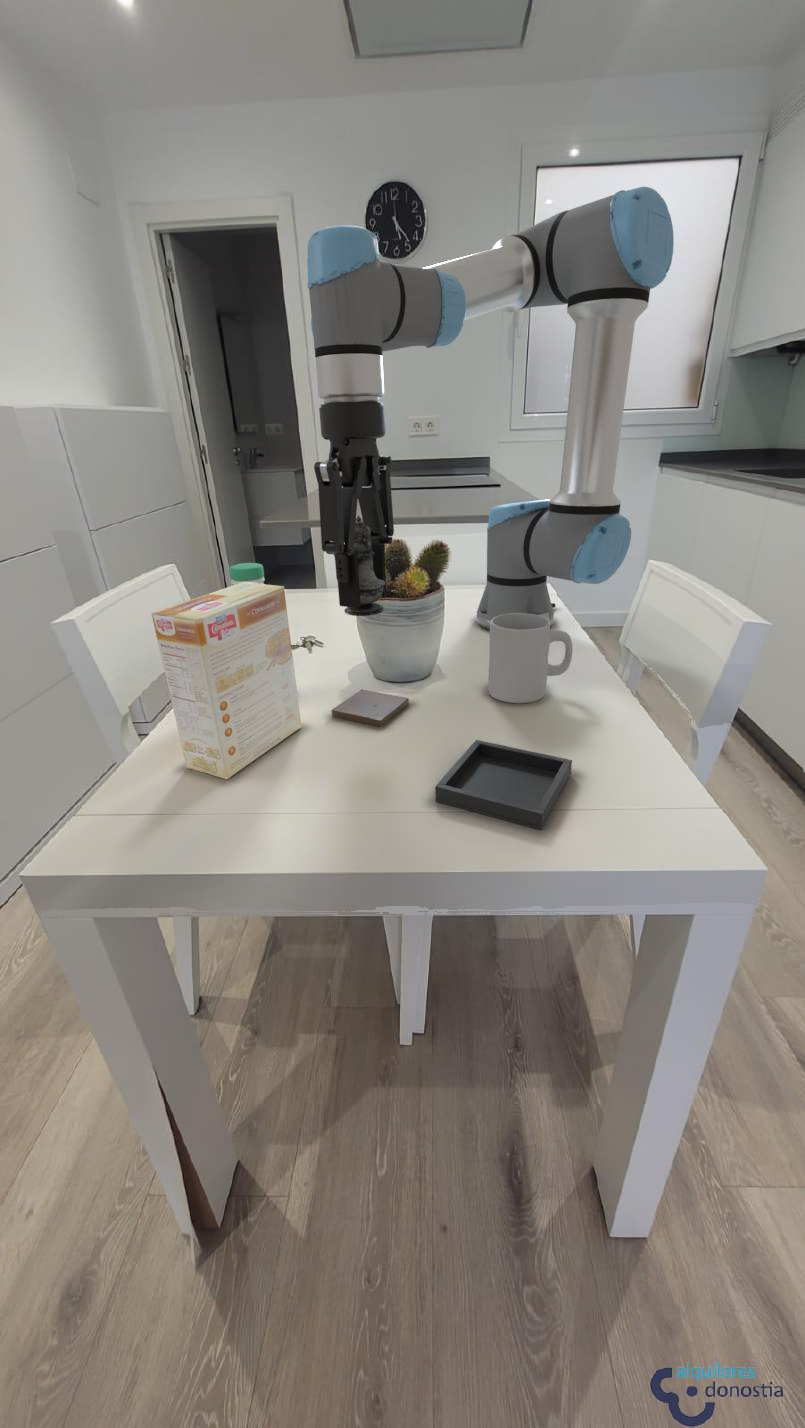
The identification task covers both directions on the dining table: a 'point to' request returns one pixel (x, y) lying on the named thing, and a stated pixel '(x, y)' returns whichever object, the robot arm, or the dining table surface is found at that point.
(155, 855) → the dining table surface
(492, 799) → the pan
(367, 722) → the coaster
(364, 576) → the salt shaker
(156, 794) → the dining table surface
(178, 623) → the coffeecake box
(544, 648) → the mug
